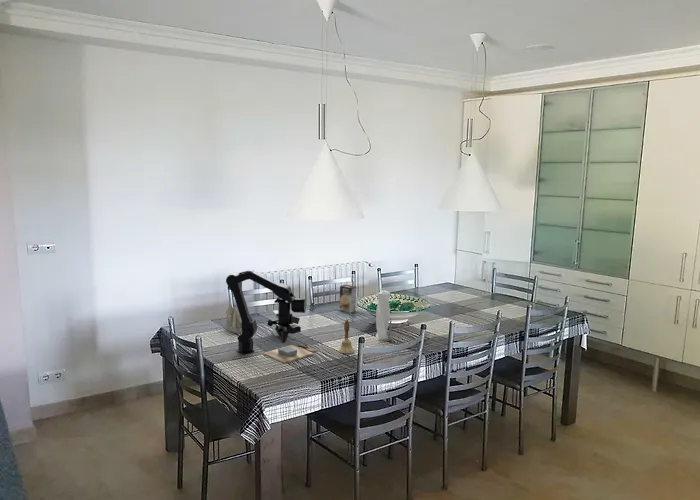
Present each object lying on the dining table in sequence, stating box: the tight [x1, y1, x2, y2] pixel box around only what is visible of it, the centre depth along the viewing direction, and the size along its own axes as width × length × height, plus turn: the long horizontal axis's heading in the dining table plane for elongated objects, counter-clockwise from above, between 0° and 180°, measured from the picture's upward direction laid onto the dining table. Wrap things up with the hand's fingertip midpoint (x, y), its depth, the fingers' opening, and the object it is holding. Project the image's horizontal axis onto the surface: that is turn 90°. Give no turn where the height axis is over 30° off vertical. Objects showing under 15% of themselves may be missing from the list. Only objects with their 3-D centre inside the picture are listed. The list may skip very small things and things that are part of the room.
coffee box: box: [338, 284, 357, 314], centre depth 341 cm, size 9×6×16 cm
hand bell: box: [337, 319, 355, 355], centre depth 266 cm, size 8×8×16 cm
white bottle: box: [375, 288, 393, 342], centre depth 287 cm, size 8×8×28 cm
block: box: [277, 345, 297, 357], centre depth 258 cm, size 6×2×7 cm
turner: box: [297, 343, 318, 353], centre depth 269 cm, size 3×12×1 cm, turn 47°
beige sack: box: [224, 302, 242, 334], centre depth 297 cm, size 16×16×15 cm
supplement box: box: [271, 309, 279, 337], centre depth 289 cm, size 7×7×13 cm
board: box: [263, 344, 314, 364], centre depth 259 cm, size 18×16×1 cm
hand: (283, 342), depth 259 cm, fingers closed
